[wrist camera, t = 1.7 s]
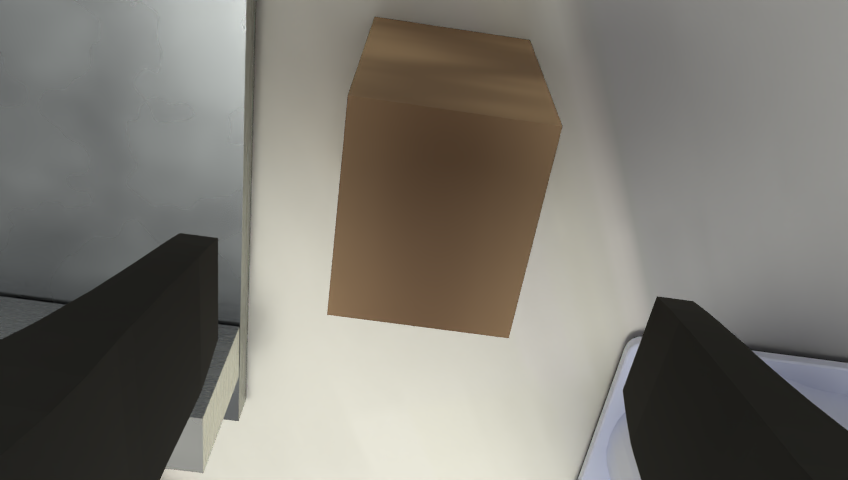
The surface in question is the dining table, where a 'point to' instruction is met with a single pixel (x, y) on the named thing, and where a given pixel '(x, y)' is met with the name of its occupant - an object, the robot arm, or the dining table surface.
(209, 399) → the slide jaw
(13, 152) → the vise
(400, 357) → the dining table surface
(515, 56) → the block
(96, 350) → the robot arm
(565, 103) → the dining table surface
